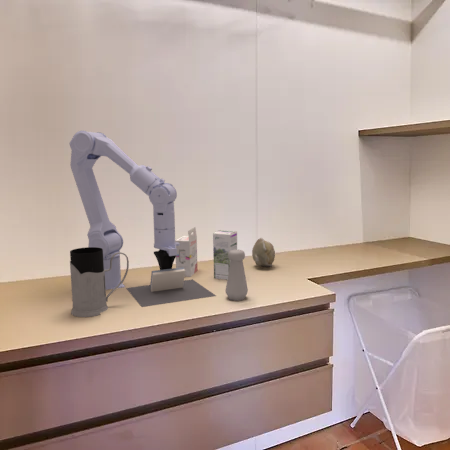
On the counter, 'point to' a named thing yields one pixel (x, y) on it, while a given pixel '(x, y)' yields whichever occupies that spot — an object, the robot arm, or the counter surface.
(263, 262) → the rock
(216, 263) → the syrup box
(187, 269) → the ink cartridge box
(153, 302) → the mat
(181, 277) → the block
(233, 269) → the salt shaker
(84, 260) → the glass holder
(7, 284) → the counter surface
